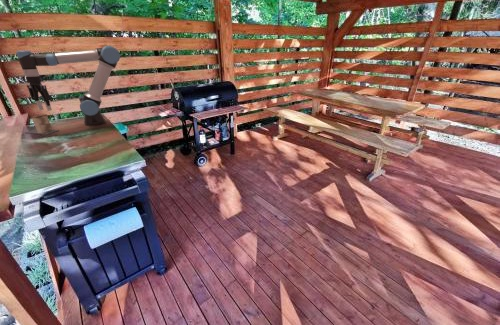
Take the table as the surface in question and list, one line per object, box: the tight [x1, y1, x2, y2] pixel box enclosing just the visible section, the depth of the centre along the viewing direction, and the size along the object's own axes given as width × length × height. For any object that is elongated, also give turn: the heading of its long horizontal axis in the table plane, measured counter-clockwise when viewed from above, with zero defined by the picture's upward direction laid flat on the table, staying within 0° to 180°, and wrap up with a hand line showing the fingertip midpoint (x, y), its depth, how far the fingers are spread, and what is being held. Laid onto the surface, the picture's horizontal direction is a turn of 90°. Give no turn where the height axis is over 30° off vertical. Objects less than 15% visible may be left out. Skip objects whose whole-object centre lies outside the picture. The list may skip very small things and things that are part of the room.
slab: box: [30, 113, 53, 133], centre depth 174 cm, size 8×4×12 cm, turn 168°
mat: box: [24, 128, 60, 136], centre depth 177 cm, size 10×20×1 cm, turn 78°
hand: (45, 110), depth 168 cm, fingers open, 6 cm apart
